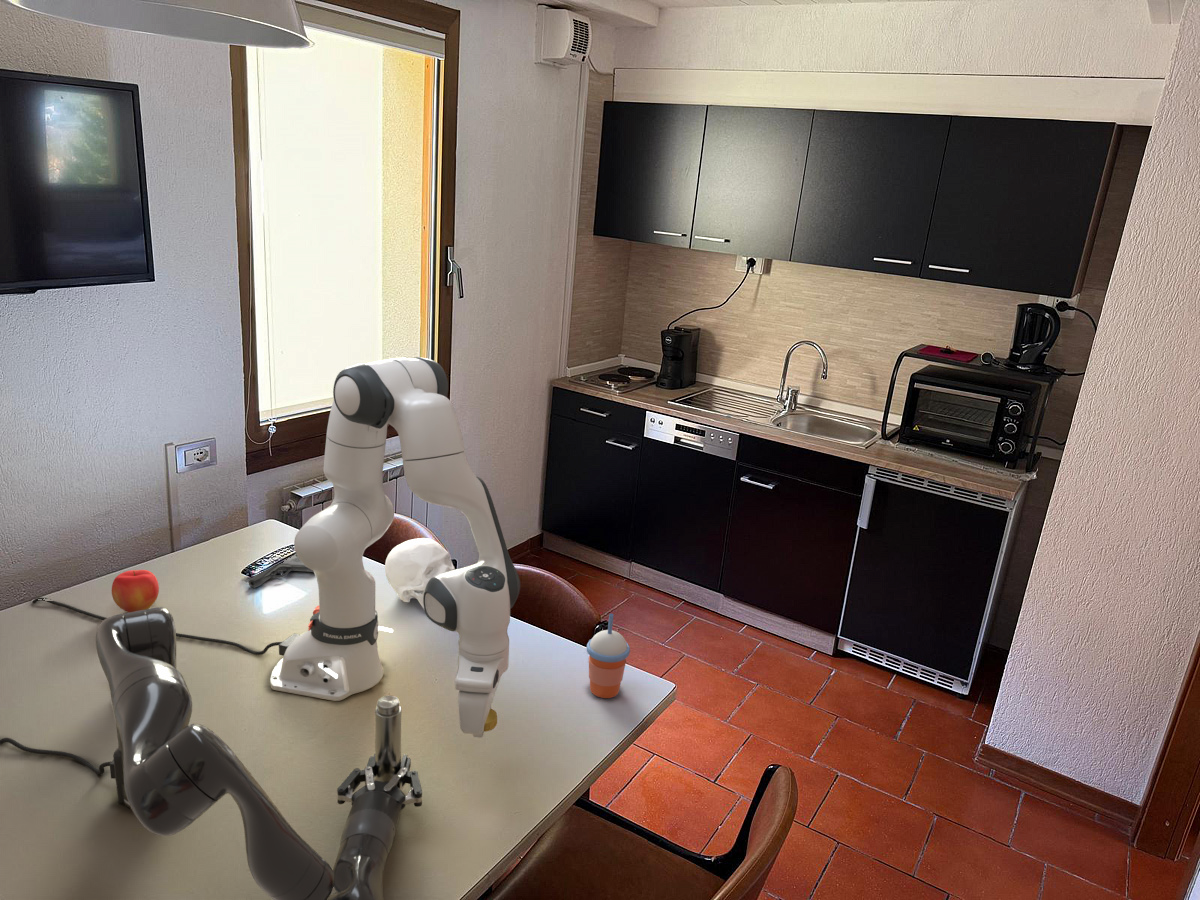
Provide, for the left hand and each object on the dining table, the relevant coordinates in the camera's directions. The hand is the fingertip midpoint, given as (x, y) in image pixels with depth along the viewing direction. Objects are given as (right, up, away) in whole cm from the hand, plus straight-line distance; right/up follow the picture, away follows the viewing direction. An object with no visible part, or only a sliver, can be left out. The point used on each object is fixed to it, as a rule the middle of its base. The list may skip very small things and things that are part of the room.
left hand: (390, 758), depth 146 cm
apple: (-71, +15, +52) cm, 89 cm away
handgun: (-45, +20, +75) cm, 89 cm away
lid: (+15, +5, +8) cm, 17 cm away
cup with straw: (+37, +1, +36) cm, 51 cm away
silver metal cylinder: (0, -7, -1) cm, 7 cm away
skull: (-8, +15, +68) cm, 70 cm away
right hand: (+14, +3, +9) cm, 17 cm away
